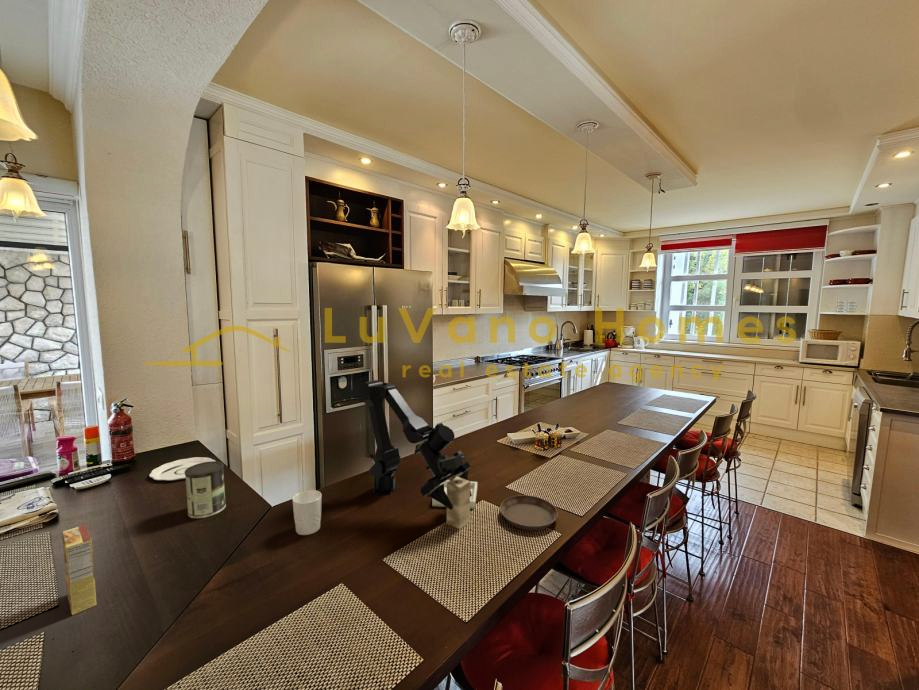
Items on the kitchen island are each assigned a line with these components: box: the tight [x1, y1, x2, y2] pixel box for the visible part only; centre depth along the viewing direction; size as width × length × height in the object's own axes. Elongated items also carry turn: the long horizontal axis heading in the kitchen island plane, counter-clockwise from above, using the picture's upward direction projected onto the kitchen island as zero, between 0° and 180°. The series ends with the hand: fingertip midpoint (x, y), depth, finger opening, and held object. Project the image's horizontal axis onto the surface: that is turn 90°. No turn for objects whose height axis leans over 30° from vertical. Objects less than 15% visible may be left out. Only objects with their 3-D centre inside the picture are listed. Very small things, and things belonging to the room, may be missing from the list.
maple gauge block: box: [446, 477, 471, 530], centre depth 117 cm, size 5×5×13 cm
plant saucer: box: [499, 494, 559, 532], centre depth 121 cm, size 18×18×3 cm
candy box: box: [61, 524, 97, 616], centre depth 85 cm, size 9×4×15 cm, turn 50°
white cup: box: [292, 489, 322, 536], centre depth 113 cm, size 8×8×10 cm
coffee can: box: [184, 460, 227, 519], centre depth 123 cm, size 10×10×14 cm
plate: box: [148, 456, 216, 481], centre depth 151 cm, size 21×21×2 cm
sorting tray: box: [431, 479, 478, 510], centre depth 133 cm, size 14×14×2 cm
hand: (461, 502), depth 116 cm, fingers open, 9 cm apart
